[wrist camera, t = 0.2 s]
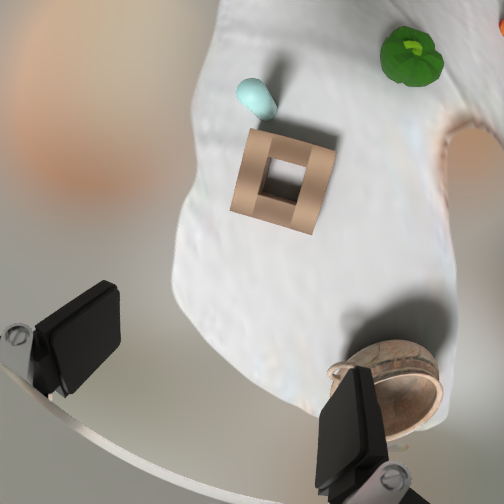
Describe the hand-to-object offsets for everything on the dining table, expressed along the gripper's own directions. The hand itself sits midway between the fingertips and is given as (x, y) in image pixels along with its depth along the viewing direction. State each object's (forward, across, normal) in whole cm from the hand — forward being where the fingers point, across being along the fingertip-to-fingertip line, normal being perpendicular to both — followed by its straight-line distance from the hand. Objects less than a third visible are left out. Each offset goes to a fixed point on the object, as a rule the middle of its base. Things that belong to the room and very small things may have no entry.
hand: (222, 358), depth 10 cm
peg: (+30, +7, -14) cm, 34 cm away
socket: (+30, +2, -5) cm, 31 cm away
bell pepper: (+31, -10, -27) cm, 42 cm away
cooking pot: (+31, -24, +20) cm, 44 cm away
